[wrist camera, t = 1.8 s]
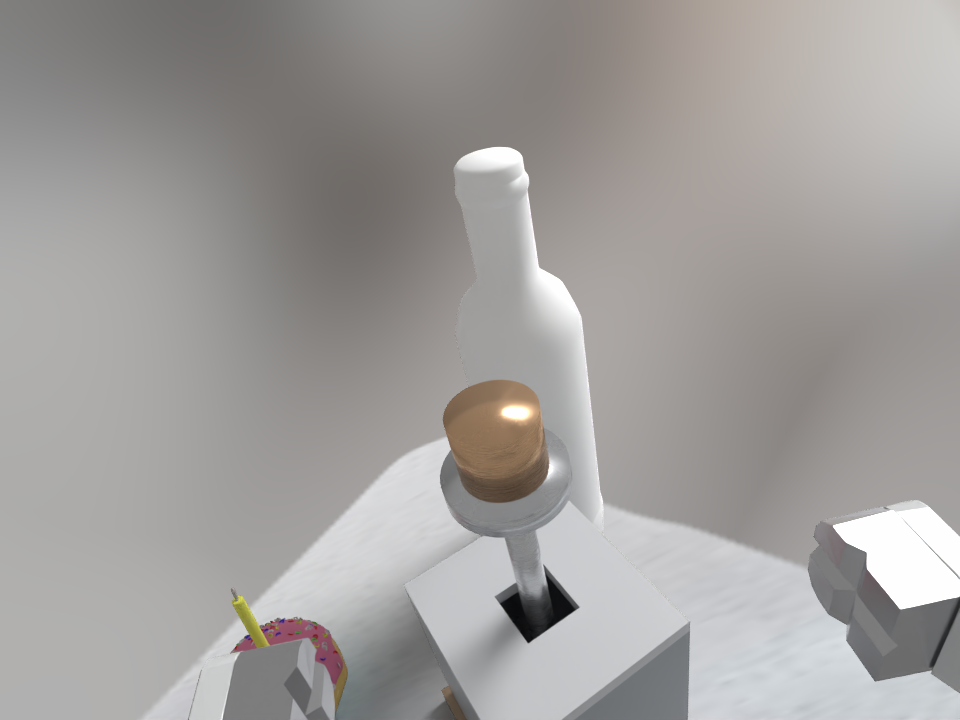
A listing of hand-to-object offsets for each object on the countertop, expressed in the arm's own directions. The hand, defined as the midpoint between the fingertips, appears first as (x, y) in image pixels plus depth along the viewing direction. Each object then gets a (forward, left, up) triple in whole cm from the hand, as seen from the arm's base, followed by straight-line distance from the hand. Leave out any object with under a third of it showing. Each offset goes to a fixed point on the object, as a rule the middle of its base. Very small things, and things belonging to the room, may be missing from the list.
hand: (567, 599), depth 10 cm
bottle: (-12, -23, -31) cm, 41 cm away
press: (-4, -11, -31) cm, 33 cm away
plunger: (-4, -11, -24) cm, 26 cm away
